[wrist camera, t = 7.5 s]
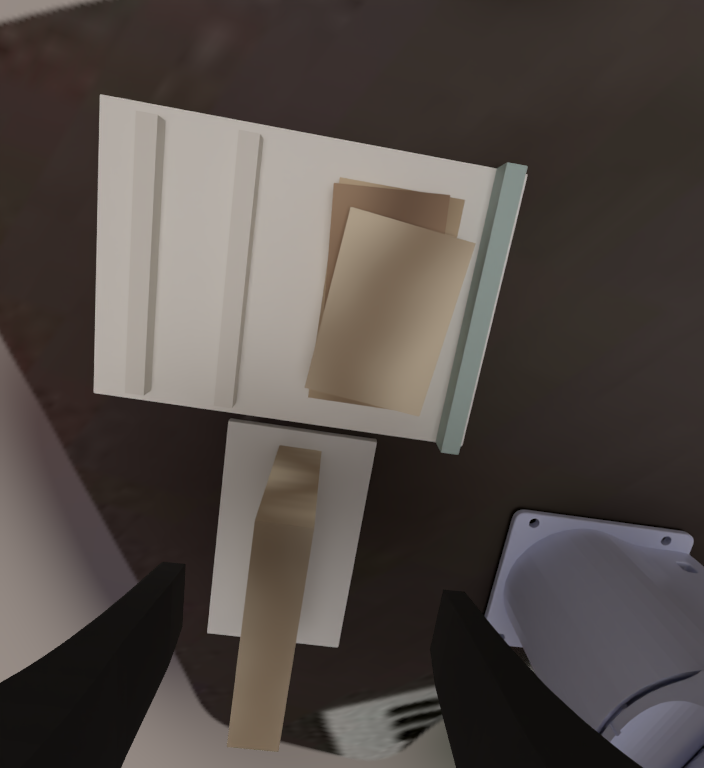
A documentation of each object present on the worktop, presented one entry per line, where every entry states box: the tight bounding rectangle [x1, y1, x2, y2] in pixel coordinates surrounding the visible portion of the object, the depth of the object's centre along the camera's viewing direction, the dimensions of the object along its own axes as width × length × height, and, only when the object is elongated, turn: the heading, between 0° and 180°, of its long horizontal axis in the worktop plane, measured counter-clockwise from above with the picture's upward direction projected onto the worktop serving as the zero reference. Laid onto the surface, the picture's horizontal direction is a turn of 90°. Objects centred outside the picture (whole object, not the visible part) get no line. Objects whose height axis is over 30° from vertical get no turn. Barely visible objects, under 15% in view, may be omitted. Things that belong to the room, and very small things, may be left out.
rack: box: [94, 94, 528, 455], centre depth 19 cm, size 17×12×2 cm
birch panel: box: [227, 445, 321, 752], centre depth 20 cm, size 2×10×6 cm, turn 171°
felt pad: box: [207, 418, 377, 647], centre depth 23 cm, size 7×12×1 cm, turn 171°
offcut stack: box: [304, 177, 476, 417], centre depth 19 cm, size 6×9×2 cm, turn 171°
